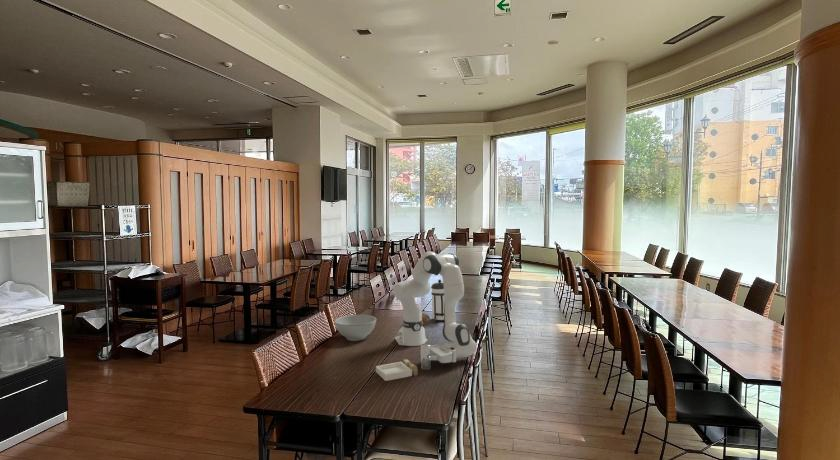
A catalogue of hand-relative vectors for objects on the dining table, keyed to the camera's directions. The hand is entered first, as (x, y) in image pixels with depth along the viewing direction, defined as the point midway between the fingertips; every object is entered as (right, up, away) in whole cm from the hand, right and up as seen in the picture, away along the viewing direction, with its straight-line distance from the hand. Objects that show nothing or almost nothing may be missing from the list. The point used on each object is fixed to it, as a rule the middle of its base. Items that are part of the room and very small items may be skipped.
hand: (424, 355), depth 240 cm
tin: (-3, -2, +85) cm, 85 cm away
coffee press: (+13, -1, +98) cm, 99 cm away
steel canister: (+1, -6, +1) cm, 7 cm away
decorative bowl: (-43, -5, +58) cm, 73 cm away
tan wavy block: (-7, -7, -3) cm, 11 cm away
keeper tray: (-15, -7, -7) cm, 18 cm away
